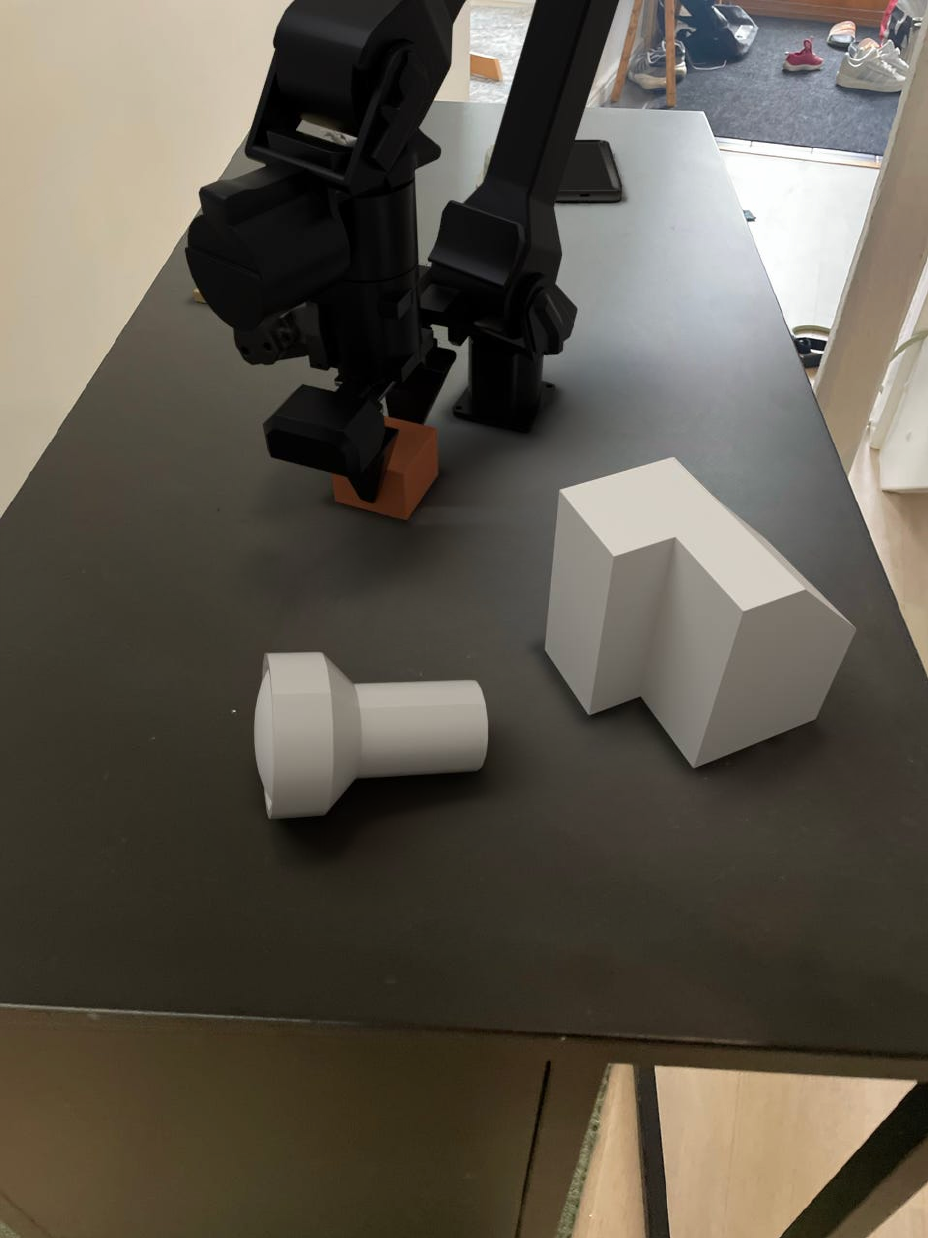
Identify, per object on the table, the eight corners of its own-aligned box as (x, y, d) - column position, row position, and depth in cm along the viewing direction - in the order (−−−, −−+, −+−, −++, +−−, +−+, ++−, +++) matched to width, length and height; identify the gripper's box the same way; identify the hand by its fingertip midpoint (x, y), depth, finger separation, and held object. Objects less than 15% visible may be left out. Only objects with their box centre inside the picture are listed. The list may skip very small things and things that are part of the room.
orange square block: (406, 520, 62) (403, 473, 59) (335, 501, 63) (328, 454, 61) (438, 474, 66) (437, 427, 63) (369, 457, 67) (365, 410, 64)
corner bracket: (544, 649, 54) (559, 489, 45) (705, 594, 57) (748, 434, 48) (639, 790, 47) (677, 634, 38) (815, 719, 50) (888, 559, 42)
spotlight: (248, 702, 50) (255, 620, 43) (449, 694, 53) (483, 617, 46) (255, 845, 45) (263, 777, 39) (473, 827, 48) (514, 762, 42)
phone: (608, 139, 107) (623, 190, 97) (607, 149, 108) (622, 201, 98) (541, 139, 107) (549, 190, 97) (540, 149, 108) (549, 201, 98)
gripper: (322, 179, 60) (345, 384, 72) (156, 308, 49) (215, 529, 60) (478, 204, 58) (476, 414, 69) (342, 348, 46) (367, 573, 57)
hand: (386, 475), depth 64 cm, fingers closed on orange square block, 5 cm apart
